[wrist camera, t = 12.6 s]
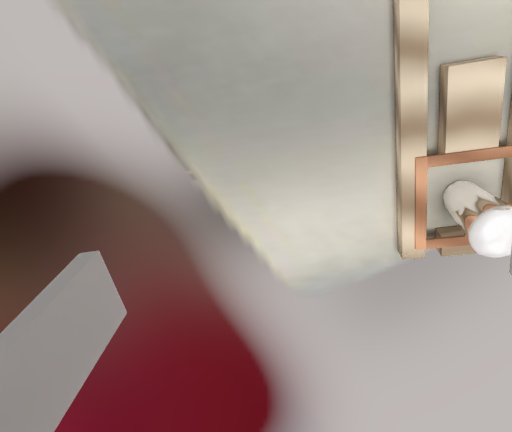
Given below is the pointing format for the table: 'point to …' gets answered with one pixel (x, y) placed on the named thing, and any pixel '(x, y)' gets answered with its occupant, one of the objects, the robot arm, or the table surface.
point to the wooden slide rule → (441, 127)
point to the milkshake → (481, 218)
